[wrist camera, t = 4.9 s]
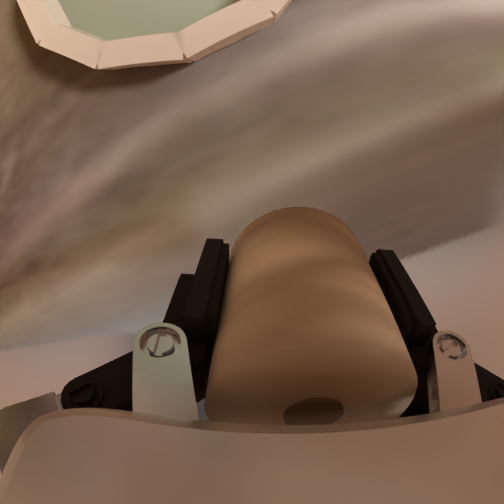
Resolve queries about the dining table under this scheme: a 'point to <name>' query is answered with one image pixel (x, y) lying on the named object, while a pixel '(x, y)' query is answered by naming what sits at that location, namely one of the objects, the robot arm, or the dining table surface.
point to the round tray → (144, 28)
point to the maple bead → (305, 330)
